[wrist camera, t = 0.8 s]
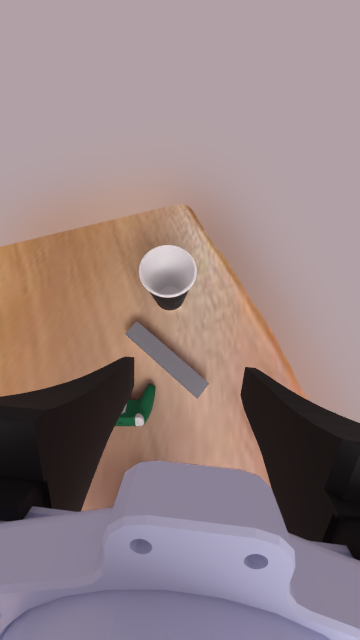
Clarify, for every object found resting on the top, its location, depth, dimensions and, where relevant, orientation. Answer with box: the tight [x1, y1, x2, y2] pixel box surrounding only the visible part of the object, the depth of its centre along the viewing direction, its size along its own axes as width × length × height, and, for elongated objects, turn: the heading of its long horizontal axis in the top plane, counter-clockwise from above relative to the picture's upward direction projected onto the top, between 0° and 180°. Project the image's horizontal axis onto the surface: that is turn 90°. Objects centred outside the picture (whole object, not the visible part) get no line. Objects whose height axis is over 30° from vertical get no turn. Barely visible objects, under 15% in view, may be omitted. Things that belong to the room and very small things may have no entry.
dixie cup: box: [139, 245, 197, 310], centre depth 30 cm, size 8×8×11 cm
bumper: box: [125, 321, 209, 399], centre depth 31 cm, size 3×16×2 cm, turn 50°
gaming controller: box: [115, 384, 155, 426], centre depth 29 cm, size 9×4×6 cm
